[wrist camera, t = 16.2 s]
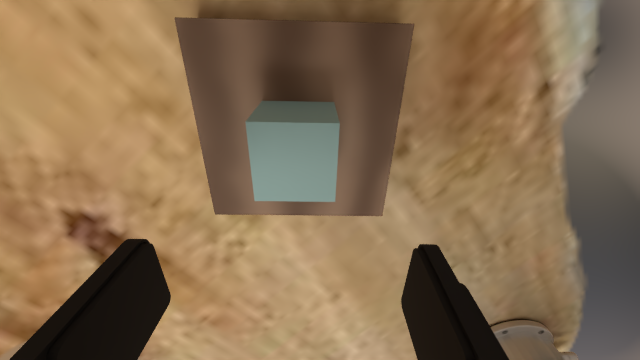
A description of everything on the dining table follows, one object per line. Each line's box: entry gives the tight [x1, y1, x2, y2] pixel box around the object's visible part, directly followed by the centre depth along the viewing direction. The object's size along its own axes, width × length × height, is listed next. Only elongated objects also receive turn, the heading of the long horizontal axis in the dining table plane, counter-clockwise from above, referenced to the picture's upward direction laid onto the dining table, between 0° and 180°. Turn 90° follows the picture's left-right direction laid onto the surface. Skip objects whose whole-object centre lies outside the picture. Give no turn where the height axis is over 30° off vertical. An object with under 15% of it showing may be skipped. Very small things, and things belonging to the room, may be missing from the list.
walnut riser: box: [175, 18, 414, 216], centre depth 23 cm, size 16×16×4 cm
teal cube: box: [245, 101, 340, 202], centre depth 19 cm, size 6×6×6 cm
